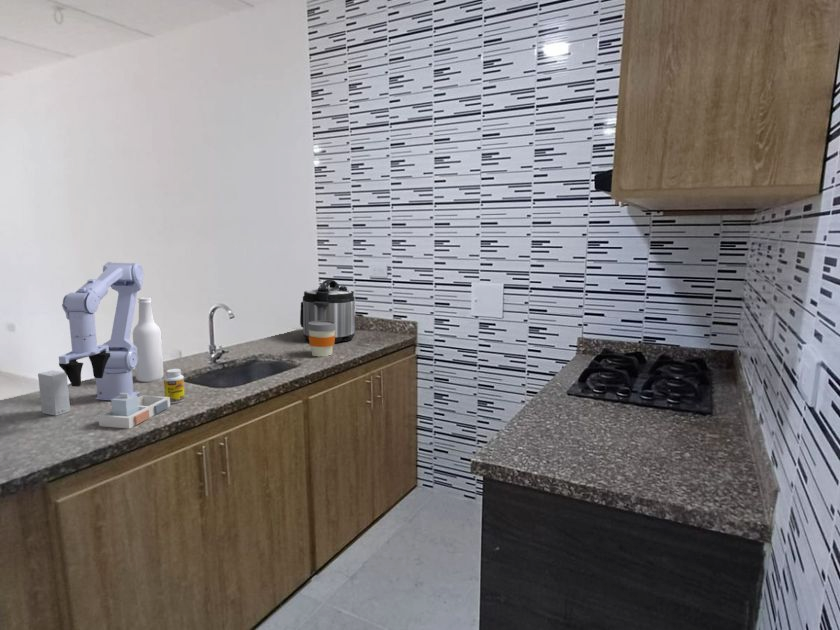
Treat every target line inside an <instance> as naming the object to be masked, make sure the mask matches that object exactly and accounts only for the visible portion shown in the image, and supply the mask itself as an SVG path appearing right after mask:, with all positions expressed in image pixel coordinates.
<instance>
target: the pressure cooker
mask: <svg viewBox="0 0 840 630" xmlns="http://www.w3.org/2000/svg"><path fill="white" fill-rule="evenodd" d="M355 301H356V300H355V296H354V291H351V290H348V287H347V286H346V285H341V286H340V284H338V282H337V281H335V280H333V279H326V280H323V282H322V283H321V284H320V285H319V286H318V288H317V289H308V290H306V291H305V290H304V292H303V296H302V301H301V302H300V311H299V312H300V314H299V315H300V317H299V322H300V323H299V325H300V327H301V328H302V334H303V338H304V339H305V340H307V341H308V342H309V336H308V335H309V330H308V323H309V322H312V321H333V322H335V324H336V329H335V342H334V343H340V342H347V341H350V340H353V338H354V336H355V330H356V329H355V325H356V324H355V319H356V318H355V317H356V316H355V312H356V309H355V306H356V305H355V304H356V303H355Z"/></svg>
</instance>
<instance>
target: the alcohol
mask: <svg viewBox="0 0 840 630" xmlns="http://www.w3.org/2000/svg"><path fill="white" fill-rule="evenodd" d="M137 300H138V321H137V324H136V325H135V327H134V328H133V330H132V344H134V345H135V346H136V347H137V356H138V361H137V365H136V366H135V367H134V369H135V373H134V374H135V379H136V380H137V382H140V383H152V382H157V381H159V380H161V379H163V377H165V376H164V358H163V343H162V342H163V340H162V331H161V328H160V326H159V325H158V323H156V322H155V320H154V313H153V307H152V302H153V301H152V298H151V297H149V296H148V297H147V296H146V297H143V296H142V297H138V299H137Z"/></svg>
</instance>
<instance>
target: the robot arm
mask: <svg viewBox="0 0 840 630" xmlns="http://www.w3.org/2000/svg"><path fill="white" fill-rule="evenodd" d="M102 267H103V268H102V273H101V274H100V275H99V276H98V277H97V278H96V279H95V278H90V279H88V280H87V282H85V284H83V285H82V286H81V287H80V288H78V289H77V290H76V291H75V292H69V293H67V294H66V295H64V297H63V299H62V303H61V307H62V310H63V311H64V312H65V316H66V319H67V320H68V322H69V332H70V341H71V342H70V343H71V351H69V352H67V353H65V354H63V355H59V356H58V365H59V367H60V368H61V369H62V371H63V372H65V373H66V375H67V379H68V380H69V382H70V385H71V386H72V387H75V388H76V387H81V386H82V385H81V384H82V369H83V366H84V362H78V360H81V359H82V360H83V359H84V358H88V359H89V361H90V364H91V367H92V374H93V377H94V379H95V383H96V394H97V396H96V397H95V400H97V401H98V400H99V401H111V400H112V399H114V398H116V397H119V394H120V393H129V395H140V394H141V392H140V391H134V381H133V369H135V366H136V365H137V361H138V356H137V347H136V346H135V345H134V344H133V342H131V341H130V336H131V332H132V331H131V330H132V325H133V319H134V312H135V307H136V301H137V297H138V296H137V294H138V292H139V291H141V290H142V287H143V283H144V276H145V273H144V269H143V267H142V265H141V264H140V263H139V262H112V261H111V262H110V261H107V262H105V264H104V265H102ZM109 288H111V289H112V291H113V290H114V291H116V292H117V293H118V295H117V300H116V307H115V314H114V317H113V318H114V319H113V323H112V329H111V336H110V339H109V340H108V341H106V342H104V343H103V344H100V345H98V342H97V341H98V340H97V331H96V319H95V318H96V317H95V313H97V311H98V308H99V305H100V302H101V300H102V299H103V298H104V297H106V296H107V294H108V292H109Z"/></svg>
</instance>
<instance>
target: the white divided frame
mask: <svg viewBox="0 0 840 630" xmlns="http://www.w3.org/2000/svg"><path fill="white" fill-rule="evenodd" d="M170 407H171V403H170V397H165V396H159V395H147V394H142V395H140V396H138V408H139V411H138V412H136V413H134V414H132V415H130V416H115V415H112V409H110V410H107V411H105V412H104V413H101V414H99V415H98V416H97V417H98V426H99V427H103V428H104V427H107V428H118V429H131V428H133V427H135V426H137V425H139V424H141V423H143V422H144V421H146V420H148V419H150V418H152V417H154V416H156V415H157V414H159V413H162V412H163V411H165V410H167V409H168V408H170Z"/></svg>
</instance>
